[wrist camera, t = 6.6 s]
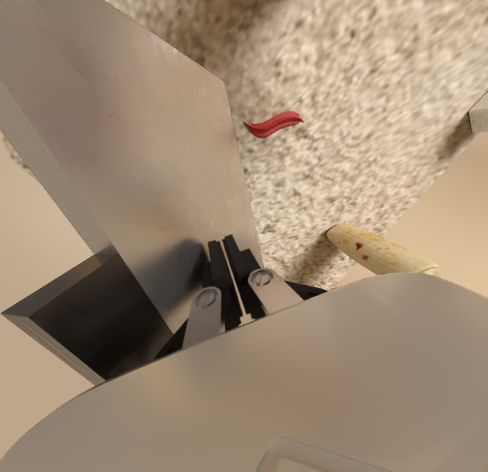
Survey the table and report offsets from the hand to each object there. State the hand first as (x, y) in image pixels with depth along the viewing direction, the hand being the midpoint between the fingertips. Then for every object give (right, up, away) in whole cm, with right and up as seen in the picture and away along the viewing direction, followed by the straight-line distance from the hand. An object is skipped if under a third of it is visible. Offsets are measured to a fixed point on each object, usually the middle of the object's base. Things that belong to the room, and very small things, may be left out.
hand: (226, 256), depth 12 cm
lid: (-2, +1, +2) cm, 3 cm away
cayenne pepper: (+6, +21, +19) cm, 29 cm away
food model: (+25, +2, +33) cm, 42 cm away
